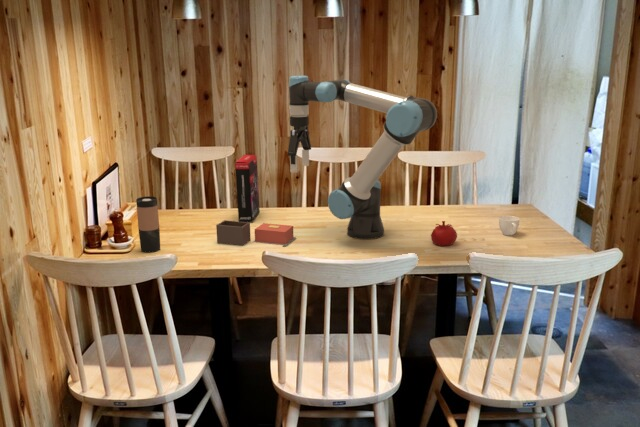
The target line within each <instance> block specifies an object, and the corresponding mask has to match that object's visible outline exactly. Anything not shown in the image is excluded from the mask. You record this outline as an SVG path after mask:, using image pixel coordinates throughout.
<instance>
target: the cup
mask: <svg viewBox="0 0 640 427" xmlns="http://www.w3.org/2000/svg"><path fill="white" fill-rule="evenodd" d="M498 219H499V221H498V225H499V229H500V231H501V234H502V235H504V236H507V237H511V236H512V237H513V236H515V233H517V231H518V229H519V225H520V218H519V217H518V216H512V215H502V216H500V217H499V218H498Z"/></svg>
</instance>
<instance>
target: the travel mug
mask: <svg viewBox="0 0 640 427" xmlns="http://www.w3.org/2000/svg"><path fill="white" fill-rule="evenodd" d="M157 198H158V197H156V196H147V195H146V196H141V197H137V198H136V200H135V201H136V212H137V215H136V216H137V226H138V235H139V236H138V237H139V244H140V250H141V252H142V253H146V254H147V253H149V254H150V253H156V252H159V251H160V250H161V235H160V233H161V232H160V230H161V229H160V220H159V219H160V218H159V207H158V205H159V204H158V199H157Z"/></svg>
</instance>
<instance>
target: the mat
mask: <svg viewBox="0 0 640 427" xmlns="http://www.w3.org/2000/svg"><path fill="white" fill-rule="evenodd" d="M296 239H297V237H296V236H295V237H294V236H293V239H291V240H290V241H289V242H288V243H287V244H276V243H266V242H256V241H255V240H253V241H252V243H258V244H268V245H274V246H275V245H276V246H281V247H282V248H283V247H284V248H287V247H288V246H289V245H290V244H291V243H293V241H295V240H296Z"/></svg>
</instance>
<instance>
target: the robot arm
mask: <svg viewBox="0 0 640 427" xmlns="http://www.w3.org/2000/svg"><path fill="white" fill-rule="evenodd" d="M288 80H289V82H288V92H289V93H288V94H289V107H288V110H289V115H290V117H289V125H290V127H293V129H290V132H289V133H290V136H289V142H288V148H287V149H288V150H287V156H288V157H289V161H290V162H289V165H290V166H289V169H290V170H289V171H290V173H295V174H296V173H298V155H297V153H298V149H299V146H300V143H301V147H302V150H301V164H302V166H303V167H309V166H310V150H312V144H311V139H310V138H311V137H310V134H309V125H310V122H309V121H310V119H309V118H310V117H309V114H310V113H309V112H310V110H309V109H310V106H309V102H318V103H323V104H325V103H332V102H333V101H341V102H345V103H349V104H353V105H356V106H360V107H363V108H367V109H369V110H370V109H371V110H373V111H378V112H381V113H384V114H386V116H385V120H386V121H385V122H384V124H383V127H382V128H383V132H382V134H381V135H380V137H379V138H378V139H377V141H376V142H375V143H374V145H373V146H372V148H371V149H370V151H369V152H368V154H367V155H366V156H365V158H364V159H363V160H362V161H361V163H360V164H359V166H358V168H356V170H355V172H354V173H353V174H352V176H351V177H350V176H348V177H346V178H345V179H344V180H343V182H342V183H341V184H340V186H339V187H338V188H337V189H334V190H332V191H331V192H330V193H329V195H328V197H327V204H328V208H329V212H330V213H331V214H332V215H333V216H334V217H336V218H337V219H339V220H346V219H349V222H348V225H347V228H346V234H347V236H349V237H351V238H353V239H360V240H374V239H380V238H381V237H384V235H385V227H384V224H383V222H382V218H381V200H382V199H381V194H382V192H381V191H382V187H381V186H382V185H381V181H380V180H379V179H380V178H381V177H382V175H383V174H384V172H385V171H386V170H387V168H388V167H389V166H390V164H391V163H392V162H393V160H394V159H395V158H396V156H397V155H398V154H399V153H400V151H401V150H402V148H403V147H404V146H409V145H410V144H411V143H413V141H414V140H415V139H416V137H417V135H419V133H421V132H424V131H427V130H430V129H431V128H432V127H433V126H434V125H435V123H436V121H437V119H438V110H437V108H436V106H435V104H434V103H433V102H432V101H430V100H429V99H426V98H422V97H417V96H412V95H409V96H402V95H398V94H394V93H392V92H391V93H390V92H386V91H384V90H379V89H375V88H372V87H367V86H363V85H360V84H357V83H355V84H354V83H352V82H351V81H349V80H348V79H341V78H340V79H336V80H335V79H334V80H325V81H310V79H309V76H308V75H291V76H290V77H289V79H288Z"/></svg>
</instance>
